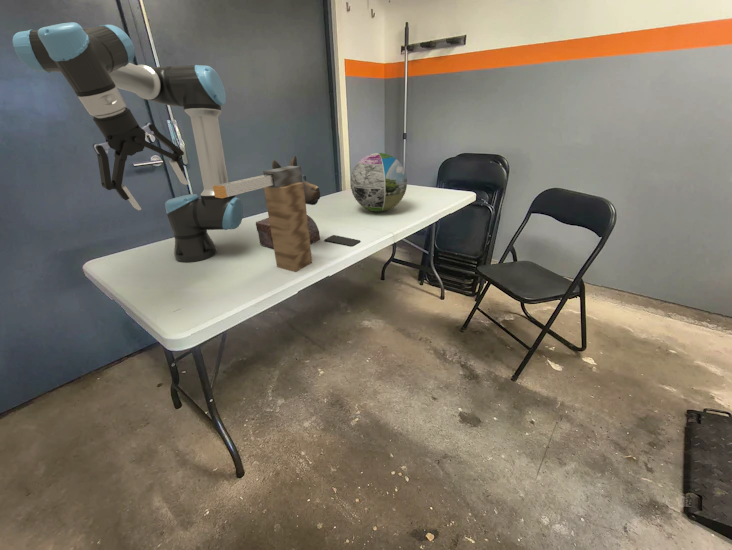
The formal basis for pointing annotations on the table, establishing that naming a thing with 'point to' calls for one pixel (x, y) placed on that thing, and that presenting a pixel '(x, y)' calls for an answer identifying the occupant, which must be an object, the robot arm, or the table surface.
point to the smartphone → (342, 240)
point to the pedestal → (288, 218)
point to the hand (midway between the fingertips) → (162, 195)
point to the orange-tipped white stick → (243, 186)
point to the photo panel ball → (378, 182)
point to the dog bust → (310, 198)
